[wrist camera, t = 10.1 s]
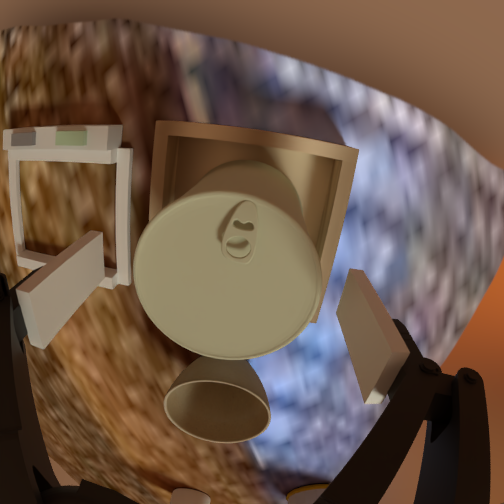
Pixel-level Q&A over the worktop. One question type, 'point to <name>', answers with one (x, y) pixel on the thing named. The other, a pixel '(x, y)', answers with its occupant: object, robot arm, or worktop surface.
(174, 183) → the open box
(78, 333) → the worktop surface
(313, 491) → the soap bottle
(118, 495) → the robot arm
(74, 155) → the white square frame
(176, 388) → the flower pot
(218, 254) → the can
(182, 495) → the pill bottle
